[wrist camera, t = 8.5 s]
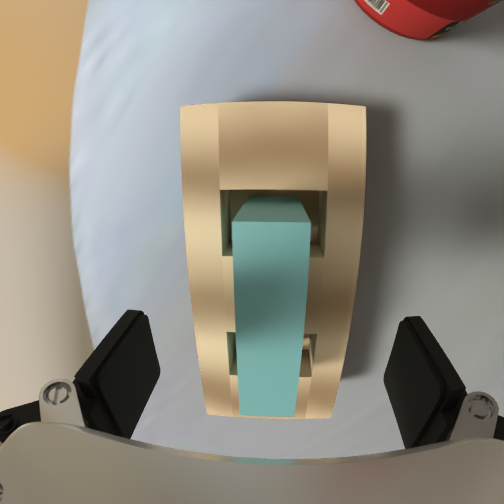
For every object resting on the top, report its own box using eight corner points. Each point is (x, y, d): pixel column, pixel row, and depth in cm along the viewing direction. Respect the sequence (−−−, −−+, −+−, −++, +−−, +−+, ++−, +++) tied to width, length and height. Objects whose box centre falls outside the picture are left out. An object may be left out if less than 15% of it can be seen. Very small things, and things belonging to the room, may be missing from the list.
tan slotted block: (200, 115, 17) (180, 106, 13) (347, 116, 16) (365, 106, 12) (216, 379, 23) (207, 414, 19) (325, 382, 22) (330, 417, 19)
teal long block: (249, 195, 17) (231, 221, 11) (297, 196, 17) (310, 222, 10) (251, 340, 20) (239, 415, 14) (291, 341, 20) (294, 416, 14)
